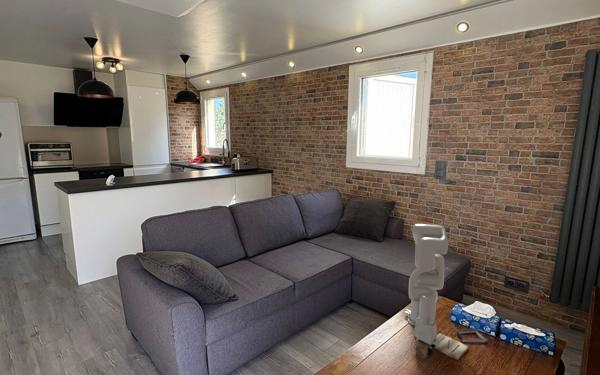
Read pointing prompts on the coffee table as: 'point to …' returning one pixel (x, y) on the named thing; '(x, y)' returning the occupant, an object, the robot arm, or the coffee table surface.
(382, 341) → the coffee table surface
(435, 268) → the robot arm
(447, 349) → the pine board
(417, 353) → the walnut sanding block
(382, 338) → the coffee table surface
